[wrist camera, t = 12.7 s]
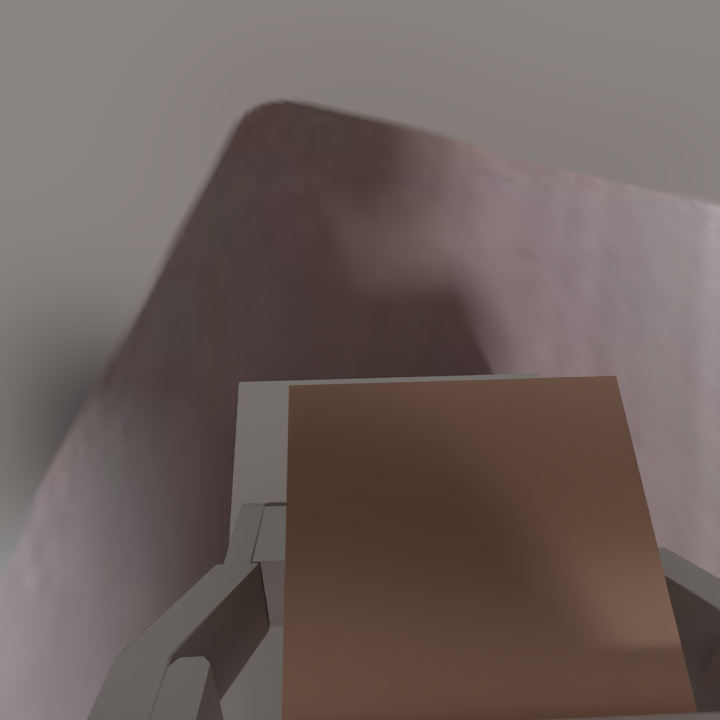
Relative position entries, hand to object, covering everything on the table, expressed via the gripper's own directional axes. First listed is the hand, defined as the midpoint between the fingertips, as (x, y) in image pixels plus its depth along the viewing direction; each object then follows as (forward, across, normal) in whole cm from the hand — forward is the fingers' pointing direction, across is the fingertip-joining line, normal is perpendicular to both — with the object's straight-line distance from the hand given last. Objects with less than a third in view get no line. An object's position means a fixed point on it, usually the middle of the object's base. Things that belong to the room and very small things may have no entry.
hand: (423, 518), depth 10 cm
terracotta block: (+3, 0, +4) cm, 5 cm away
